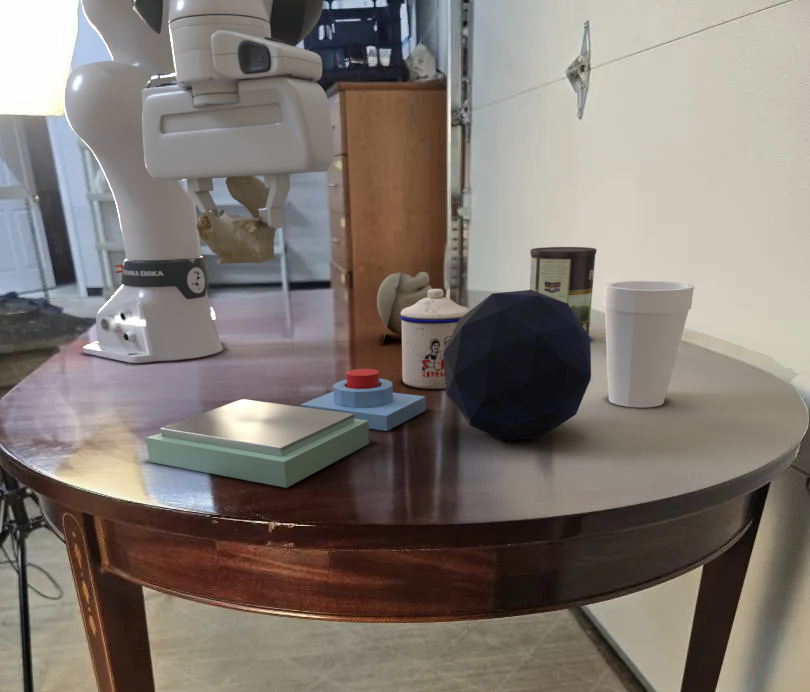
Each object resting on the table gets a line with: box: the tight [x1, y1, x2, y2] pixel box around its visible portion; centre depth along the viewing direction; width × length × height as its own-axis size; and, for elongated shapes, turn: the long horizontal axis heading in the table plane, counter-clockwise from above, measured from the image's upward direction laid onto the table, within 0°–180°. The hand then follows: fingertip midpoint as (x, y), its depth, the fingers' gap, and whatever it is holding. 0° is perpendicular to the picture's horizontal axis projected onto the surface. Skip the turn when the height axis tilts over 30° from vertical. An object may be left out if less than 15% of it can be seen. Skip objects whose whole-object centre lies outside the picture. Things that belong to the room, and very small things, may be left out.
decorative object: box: [376, 261, 433, 343], centre depth 128 cm, size 13×10×10 cm
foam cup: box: [602, 280, 695, 409], centre depth 88 cm, size 10×9×13 cm
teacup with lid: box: [400, 288, 471, 390], centre depth 100 cm, size 12×9×12 cm
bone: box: [197, 176, 277, 265], centre depth 75 cm, size 9×6×10 cm
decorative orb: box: [443, 289, 592, 443], centre depth 76 cm, size 14×15×15 cm
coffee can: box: [529, 246, 597, 336], centre depth 125 cm, size 10×10×14 cm
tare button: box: [346, 368, 380, 389], centre depth 86 cm, size 4×4×2 cm
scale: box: [145, 398, 370, 489], centre depth 75 cm, size 16×14×3 cm
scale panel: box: [300, 378, 426, 432], centre depth 87 cm, size 11×9×4 cm
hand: (243, 229), depth 75 cm, fingers closed on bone, 6 cm apart
